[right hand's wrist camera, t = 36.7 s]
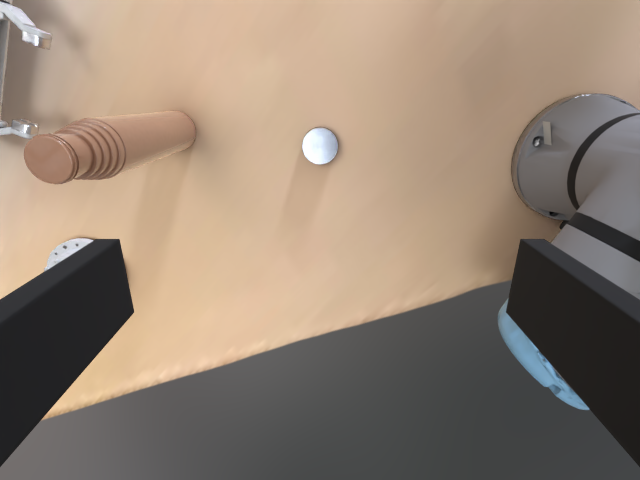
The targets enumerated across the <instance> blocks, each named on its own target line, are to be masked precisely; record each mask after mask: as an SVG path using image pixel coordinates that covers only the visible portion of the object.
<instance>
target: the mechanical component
mask: <svg viewBox="0 0 640 480" xmlns="http://www.w3.org/2000/svg"><path fill="white" fill-rule="evenodd" d="M92 241H94V240H90V239H85V238H76V239H71V240H68V241H66V242H64V243H62V244H60V245H58V246H57V247H56V248H55V249H54V250H53V251H52V252H51V254H50V256H49V259H48V261H47V267H46V268H44V270H45V271H46V270H48V269H50V268H51V267H53V266H54V265H56V264H57V263H59V262H61V261H62V260H64V259H65V258H67V257H68V256H70V255H72V254H73V253H75V252H76V251H78V250H80V249H81V248H83V247H84V246H86V245H87V244H89V243H91V242H92ZM45 271H44V272H45Z"/></svg>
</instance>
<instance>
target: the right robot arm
mask: <svg viewBox="0 0 640 480" xmlns="http://www.w3.org/2000/svg"><path fill="white" fill-rule="evenodd" d="M512 180H513V184H514V187H515V190H516V192H517V194H518V195H519V197H520V198H521V200H522V201H523V202H524V203H525V204H526V205H527V206H528V207H530V208H531V209H533V210H534V211H536V212H538V213H540V214H542V215H544V216H546V217H549V218H553V219H558V220H564V221H563V222H562V223H561V225H560V228H561V229H562V230H561V231H560V232H559V234H558V235H557V236H556V237H555V239H554V240H553V241H552V242H551V243H549V242H548V241H546V240H545V239H521V240H520V245H519V249H518V254H517V259H516V264H515V269H514V274H513V279H512V284H511V289H510V294H509V298H508V299H507V300H506V302H505V303H504V305H503V306H502V307H501V309H500V311H499V313H498V326H499V330H500V333H501V335H502V337H503V339H504V341H505V343H506V344H507V346H508V348H509V349H510V351H511V352H512V353H513V355H514V356H515V357H516V358H517V360H518V361H519V362H520V363H521V364H522V365H523V367H524V368H525V369H526V370H527V371H528V372H529V373H530V374H531V375H532V376H533V377H534V378H535V379H536V380H537V381H538V382H540V383H541V384H542V385H543V386H544V387H549V388H550V390H551V391H552V392H553V393H554V394H555V395H556V396H557V397H558V398H560V399H561V400H563V401H564V402H566V403H567V404H569V405H571V406H573V407H575V408H578V409H584V410H591V411H592V412H593V413H594V415H595V416H596V417H597V418H598V419H599V420H600V422H601V423H602V424H603V425H604V426H605V427H606V429H607V430H608V431H609V432H610V433H611V434H612V435H613V437H614V438H615V439H616V440H617V441H618V442H619V444H620V445H621V446H622V447H623V448H624V449H625V450H626V452H627V453H628V454H629V455H630V456H631V457H632V458H633V460H634V461H635V462H636V463H637V464H638V465H639V467H640V110H638V109H636V108H635V107H634V106H632V105H631V104H630V103H628V102H626V101H624V100H622V99H620V98H617V97H615V96H611V95H606V94H580V95H574V96H570V97H567V98H564V99H562V100H559V101H557V102H555V103H553V104H552V105H550V106H548V107H547V108H546V109H544V110H543V111H542V112H540V113H539V114H538V115H537V116H536V117H535V118H534V119H533V120H532V121H531V122H530V123H529V125H528V126H527V127H526V129H525V130H524V132H523V133H522V135H521V136H520V138H519V140H518V142H517V145H516V148H515V151H514V154H513V159H512ZM133 313H134V309H133V304H132V299H131V294H130V289H129V284H128V279H127V274H126V269H125V264H124V259H123V254H122V249H121V245H120V240H119V239H95V240H94V241H92V242H91V243H89V244H87V245H86V246H84V247H83V248H81V249H80V250H78V251H76V252H75V253H73V254H72V255H70V256H68V257H67V258H65V259H64V260H62V261H61V262H59V263H57V264H56V265H54V266H53V267H51V268H50V269H48V270H46V271H45V272H43V273H42V274H40V275H38V276H37V277H35V278H34V279H32V280H31V281H29V282H27V283H26V284H24V285H23V286H21V287H19V288H18V289H16V290H15V291H13V292H12V293H10V294H8V295H7V296H5V297H4V298H2V299H0V467H1V465H2V464H3V463H4V462H5V461H6V460H7V459H8V457H9V456H10V455H11V454H12V453H13V452H14V450H15V449H16V448H17V447H18V446H19V445H20V443H21V442H22V441H23V440H24V439H25V438H26V437H27V435H28V434H29V433H30V432H31V431H32V430H33V428H34V427H35V426H36V425H37V424H38V423H39V422H40V420H41V419H42V418H43V417H44V416H45V415H46V413H47V412H48V411H49V410H50V409H51V408H52V407H53V405H54V404H55V403H56V402H57V401H58V400H59V398H60V397H61V396H62V395H63V394H64V393H65V392H66V390H67V389H68V388H69V387H70V386H71V385H72V383H73V382H74V381H75V380H76V379H77V378H78V377H79V375H80V374H81V373H82V372H83V371H84V370H85V368H86V367H87V366H88V365H89V364H90V363H91V362H92V360H93V359H94V358H95V357H96V356H97V355H98V353H99V352H100V351H101V350H102V349H103V348H104V346H105V345H106V344H107V343H108V342H109V341H110V340H111V338H112V337H113V336H114V335H115V334H116V333H117V331H118V330H119V329H120V328H121V327H122V326H123V325H124V323H125V322H126V321H127V320H128V319H129V318H130V316H131V315H132V314H133Z"/></svg>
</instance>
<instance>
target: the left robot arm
mask: <svg viewBox="0 0 640 480" xmlns="http://www.w3.org/2000/svg"><path fill="white" fill-rule="evenodd" d="M12 2H13V0H0V119H1V110H2V100H3V90H4V80H5V71H6V61H7V51H8V41H9V31H10V22H11V21H12V22H13V23H14V24H15V25H16V26H17V27H18V28H19V29H20V30H21V31H22V41H25V42H27V43H31V44H33V45H34V46H37V47H40V48H44V49H45V48H46V49H50V45H51V38H52V34H50V33H47V32H45V31H43V30H40V29H38V28H36V26H35V25H34V23H33V22H32V21H31V20H30V19H29V18H28V17H27V15H26V14H25V13H24V12H23V11H22V10H21V9H19V8H17V7H15V6H12ZM38 131H39V124H37V123H32V122H31V121H29V120H27V119H20V120H18V119H15V120H12V127H8V123H7V122H5V121H3V120H0V135H8V134H15V135H18V136H21V137H23V138H27V139H33V136H36V135H38Z"/></svg>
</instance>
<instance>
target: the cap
mask: <svg viewBox="0 0 640 480" xmlns="http://www.w3.org/2000/svg"><path fill="white" fill-rule="evenodd" d="M302 149H303V153H304V155H305V156H306V158H307V159H308V160H309V161H311V162H312V163H315V164H326V163H328V162H330V161H331V160H332V159H333V158H334V157H335V155H336V154H337V150H338V142H337V139H336V136H335V135H334V133H333V132H332V131H331V130H329V129H327V128H325V127H316V128H313V129H311V130H310V131H309V132H308V133H307V134H306V135H305V137H304V140H303V143H302Z"/></svg>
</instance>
